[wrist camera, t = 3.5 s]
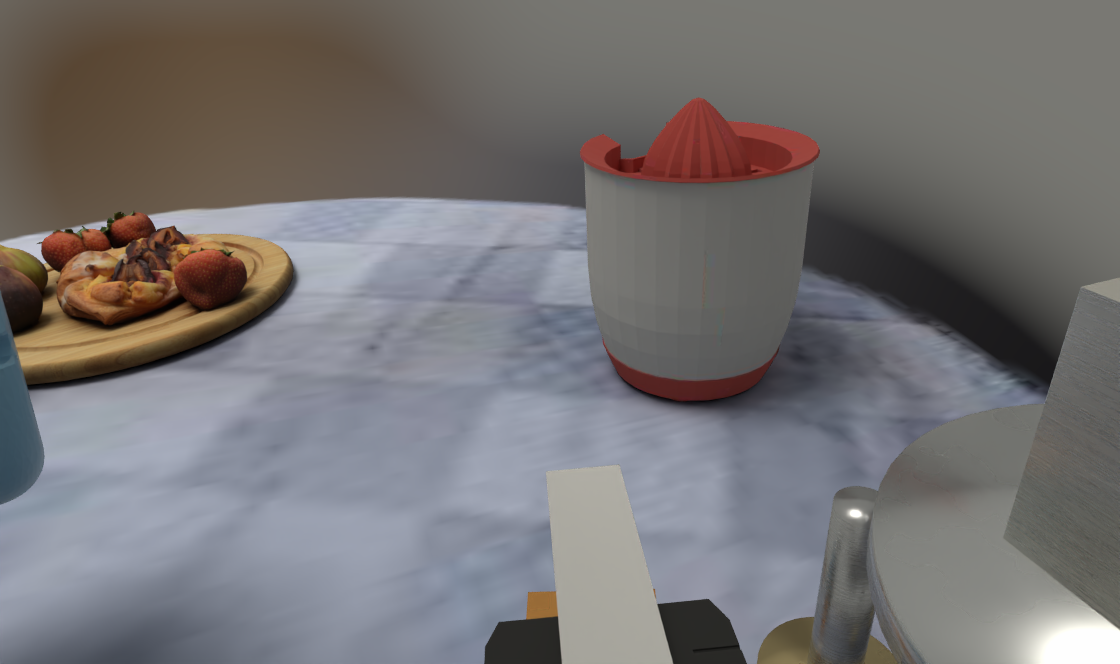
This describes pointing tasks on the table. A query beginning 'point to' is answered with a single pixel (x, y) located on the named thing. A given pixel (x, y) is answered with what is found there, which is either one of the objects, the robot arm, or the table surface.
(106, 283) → the wooden plate with food
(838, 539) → the lever
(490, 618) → the table surface
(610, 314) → the citrus juicer
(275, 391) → the table surface
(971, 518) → the tribrach stand
